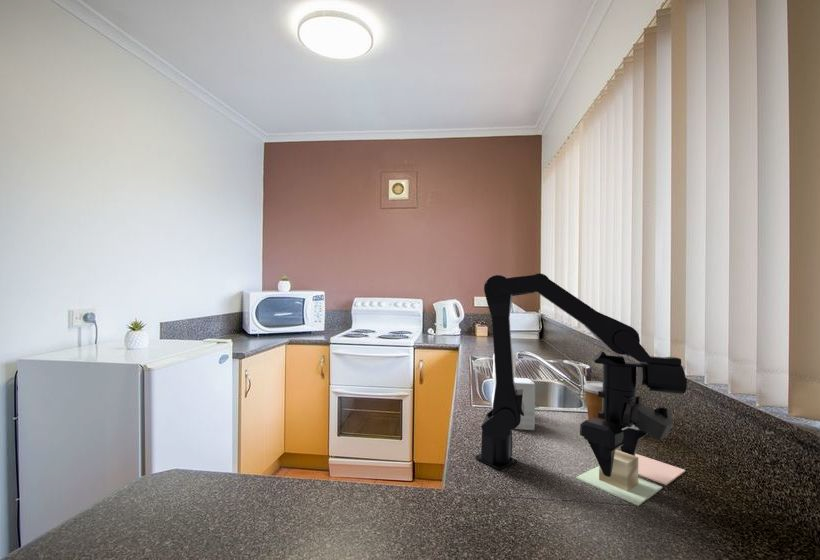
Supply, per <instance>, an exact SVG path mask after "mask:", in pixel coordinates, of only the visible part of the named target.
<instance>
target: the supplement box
mask: <svg viewBox="0 0 820 560" xmlns="http://www.w3.org/2000/svg"><path fill="white" fill-rule="evenodd" d="M514 382H515V385H516V389H517V390H519V389H523V397H522V401H523V404H524V406H525V409H524V416H522V415H521V421H520V424H519V425H518V426H517V427H516V428H515V429H514V430H525V431H535V427H536V426H535V422H536V421H535V419H536V417H535V415H536V410H535V409H536V383H535V382H534V381H532V380H531V379H530V378H525V377H516V378H514Z"/></svg>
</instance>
